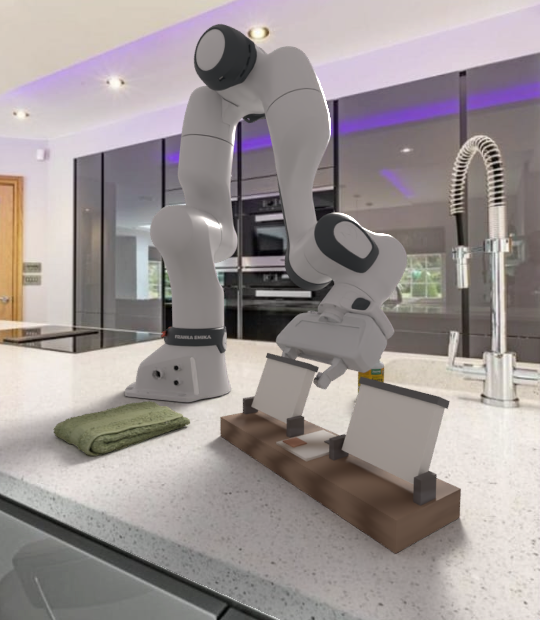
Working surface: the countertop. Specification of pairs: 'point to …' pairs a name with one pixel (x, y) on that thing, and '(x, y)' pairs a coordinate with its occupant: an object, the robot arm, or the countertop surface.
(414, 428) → the grey flat panel
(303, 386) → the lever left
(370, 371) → the supplement bottle
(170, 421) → the washcloth
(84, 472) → the countertop surface
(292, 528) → the countertop surface
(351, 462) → the switch base
